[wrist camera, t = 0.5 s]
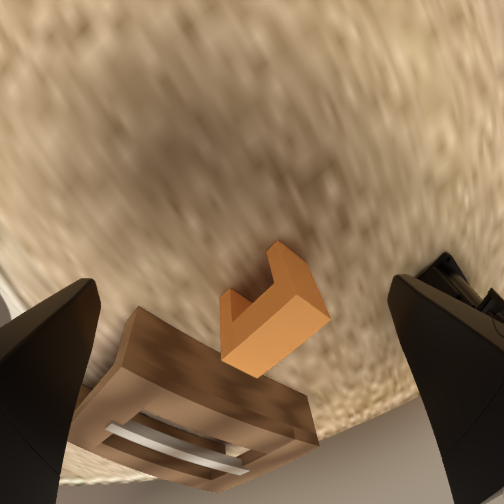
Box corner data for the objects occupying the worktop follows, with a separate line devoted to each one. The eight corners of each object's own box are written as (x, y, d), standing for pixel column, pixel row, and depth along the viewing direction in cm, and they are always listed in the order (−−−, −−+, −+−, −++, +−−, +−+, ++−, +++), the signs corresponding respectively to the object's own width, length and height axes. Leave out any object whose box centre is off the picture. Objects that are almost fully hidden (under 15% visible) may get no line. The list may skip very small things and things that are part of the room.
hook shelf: (306, 396, 32) (320, 448, 26) (215, 450, 37) (217, 494, 31) (138, 306, 25) (120, 370, 19) (73, 390, 29) (58, 439, 23)
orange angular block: (306, 262, 24) (331, 319, 18) (249, 316, 26) (257, 378, 20) (277, 239, 23) (296, 294, 17) (219, 297, 25) (221, 360, 19)
